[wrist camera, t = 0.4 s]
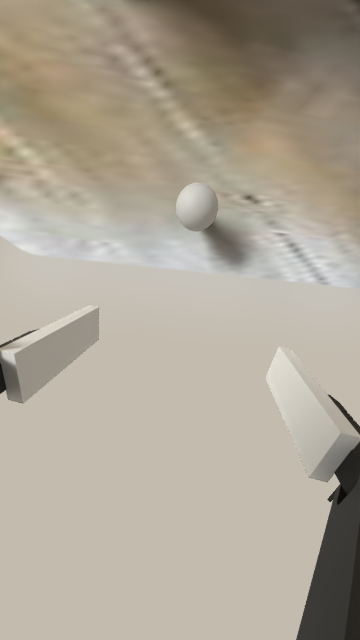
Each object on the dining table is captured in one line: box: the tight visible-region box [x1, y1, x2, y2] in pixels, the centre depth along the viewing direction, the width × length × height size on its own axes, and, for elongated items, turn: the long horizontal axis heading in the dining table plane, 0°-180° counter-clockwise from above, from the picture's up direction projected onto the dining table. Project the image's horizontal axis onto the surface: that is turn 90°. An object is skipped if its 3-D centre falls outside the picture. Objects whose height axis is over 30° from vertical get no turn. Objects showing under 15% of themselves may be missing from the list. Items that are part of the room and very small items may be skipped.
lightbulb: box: [176, 183, 218, 231], centre depth 30 cm, size 6×6×11 cm
